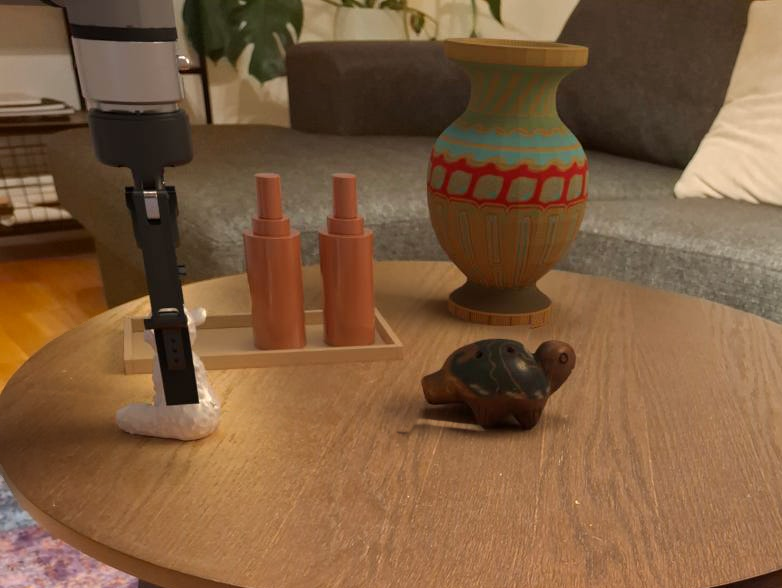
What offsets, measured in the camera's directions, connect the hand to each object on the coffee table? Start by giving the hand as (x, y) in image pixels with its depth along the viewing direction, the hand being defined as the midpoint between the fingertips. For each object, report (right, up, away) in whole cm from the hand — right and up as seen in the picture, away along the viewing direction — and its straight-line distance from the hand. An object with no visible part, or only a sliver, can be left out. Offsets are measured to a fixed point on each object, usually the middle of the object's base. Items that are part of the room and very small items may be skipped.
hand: (179, 375), depth 82 cm
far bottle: (+12, +11, +24) cm, 29 cm away
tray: (+2, +9, +22) cm, 24 cm away
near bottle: (+4, +10, +22) cm, 24 cm away
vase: (+30, +19, +37) cm, 52 cm away
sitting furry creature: (0, -4, +3) cm, 5 cm away
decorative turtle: (+29, -2, +9) cm, 30 cm away
